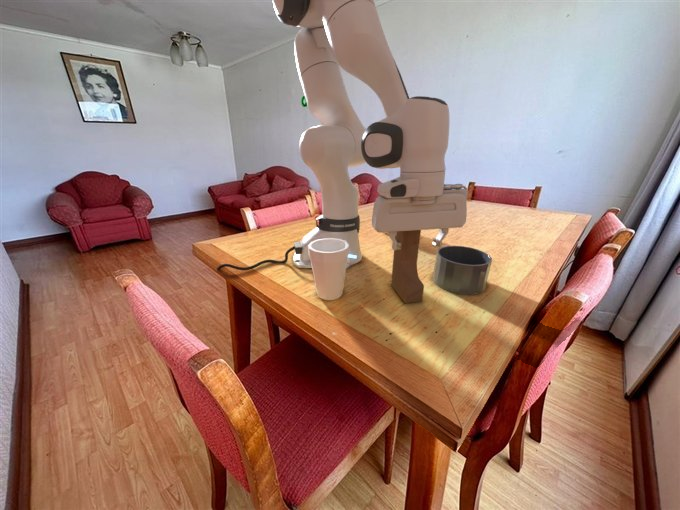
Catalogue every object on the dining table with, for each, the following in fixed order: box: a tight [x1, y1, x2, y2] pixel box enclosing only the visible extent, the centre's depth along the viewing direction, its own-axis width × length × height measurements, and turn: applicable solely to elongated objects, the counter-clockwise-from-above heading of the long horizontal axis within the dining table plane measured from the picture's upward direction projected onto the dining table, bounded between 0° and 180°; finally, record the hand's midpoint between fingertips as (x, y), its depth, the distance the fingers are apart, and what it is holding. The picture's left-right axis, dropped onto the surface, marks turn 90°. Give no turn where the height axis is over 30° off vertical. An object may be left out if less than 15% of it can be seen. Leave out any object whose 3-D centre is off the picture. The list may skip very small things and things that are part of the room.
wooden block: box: [390, 230, 425, 304], centre depth 63 cm, size 9×4×18 cm, turn 12°
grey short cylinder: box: [432, 244, 493, 296], centre depth 71 cm, size 17×13×8 cm
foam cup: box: [308, 238, 349, 301], centre depth 64 cm, size 10×9×13 cm
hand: (416, 248), depth 60 cm, fingers open, 8 cm apart
